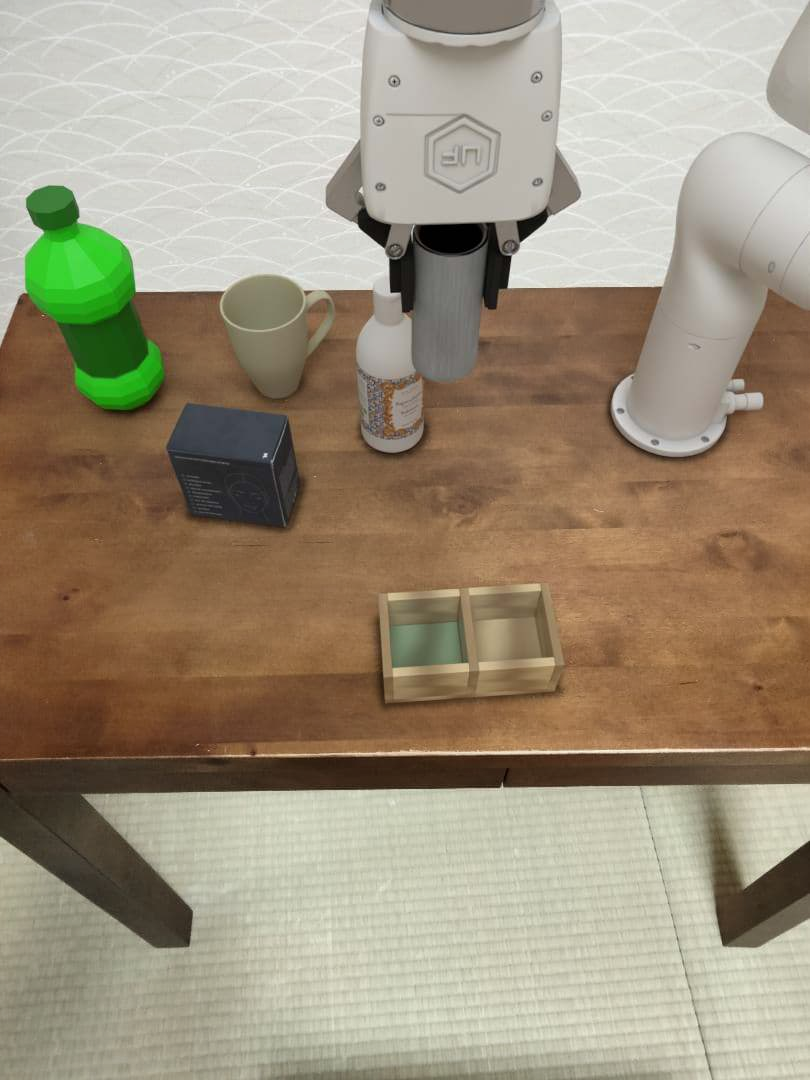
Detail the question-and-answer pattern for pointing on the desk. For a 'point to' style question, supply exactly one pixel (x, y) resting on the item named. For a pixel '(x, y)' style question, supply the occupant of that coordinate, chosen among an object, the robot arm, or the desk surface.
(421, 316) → the grey hollow cylinder
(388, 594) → the wooden divided tray
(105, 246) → the plastic bottle
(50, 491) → the desk surface
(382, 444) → the bath foam
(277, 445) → the box
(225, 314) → the mug
